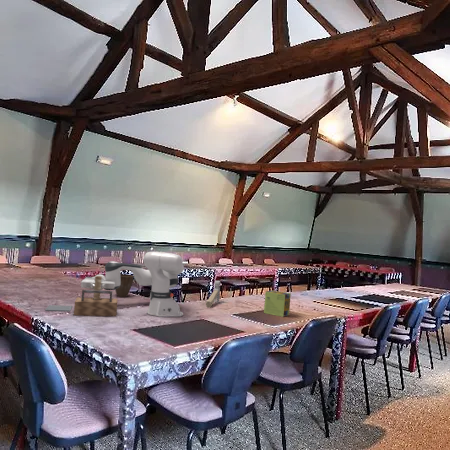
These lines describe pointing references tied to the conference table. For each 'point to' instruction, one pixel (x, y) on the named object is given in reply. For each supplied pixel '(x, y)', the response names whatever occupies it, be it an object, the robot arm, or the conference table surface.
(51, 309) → the slate mat
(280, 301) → the protein box
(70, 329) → the conference table surface
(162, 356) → the conference table surface
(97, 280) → the wooden key
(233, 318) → the conference table surface
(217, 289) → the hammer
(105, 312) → the toolbox
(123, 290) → the plant pot
